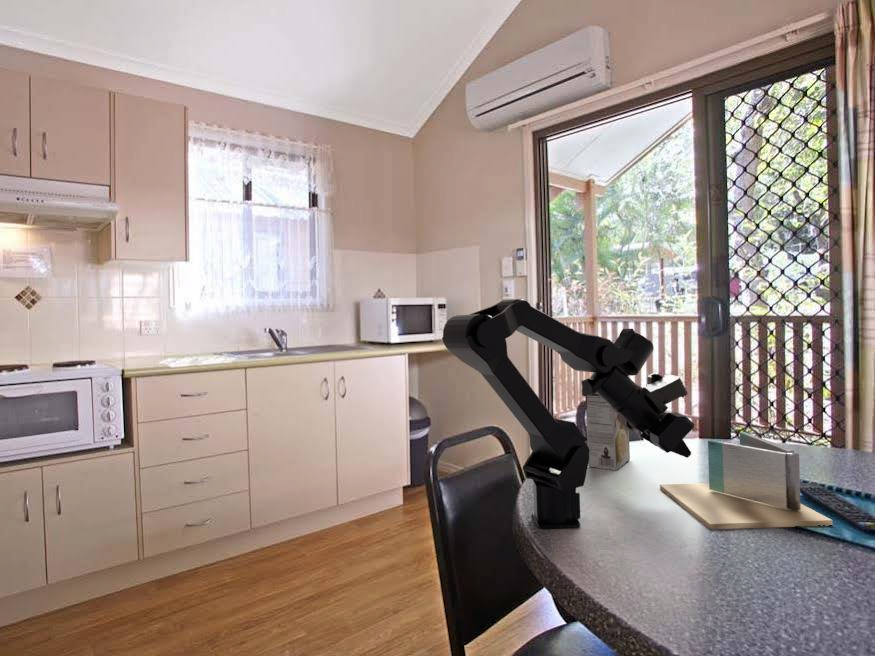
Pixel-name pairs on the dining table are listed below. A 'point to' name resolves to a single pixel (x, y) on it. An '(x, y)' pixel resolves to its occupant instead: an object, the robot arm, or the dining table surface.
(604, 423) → the coffee box
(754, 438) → the base
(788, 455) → the jaw
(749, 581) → the dining table surface
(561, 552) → the dining table surface
